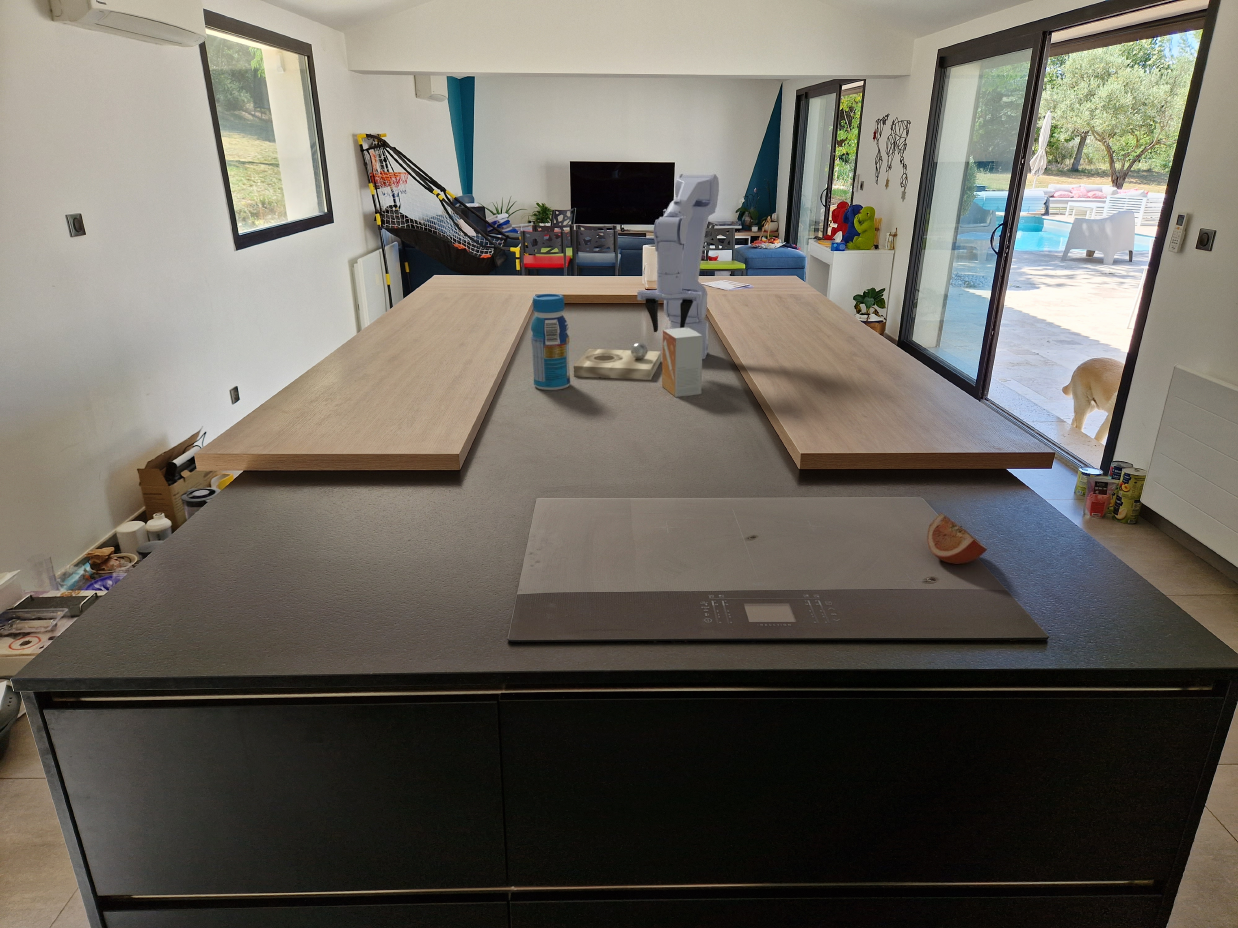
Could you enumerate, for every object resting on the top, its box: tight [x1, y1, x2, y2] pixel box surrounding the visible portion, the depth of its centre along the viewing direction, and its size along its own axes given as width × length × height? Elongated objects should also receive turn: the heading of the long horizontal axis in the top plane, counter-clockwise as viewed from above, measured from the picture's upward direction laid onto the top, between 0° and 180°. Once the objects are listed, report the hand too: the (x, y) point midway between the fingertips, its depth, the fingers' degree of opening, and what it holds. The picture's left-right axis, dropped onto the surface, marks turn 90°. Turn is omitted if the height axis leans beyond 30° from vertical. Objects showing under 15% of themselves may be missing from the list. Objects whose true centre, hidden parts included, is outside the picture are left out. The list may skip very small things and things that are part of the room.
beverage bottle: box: [530, 293, 571, 391], centre depth 178 cm, size 8×8×20 cm
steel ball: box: [630, 342, 649, 360], centre depth 192 cm, size 4×4×4 cm
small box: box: [661, 328, 703, 398], centre depth 175 cm, size 8×6×13 cm
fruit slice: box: [926, 512, 988, 565], centre depth 107 cm, size 8×7×5 cm
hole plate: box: [573, 348, 662, 381], centre depth 194 cm, size 18×16×2 cm
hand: (668, 331), depth 189 cm, fingers open, 5 cm apart
